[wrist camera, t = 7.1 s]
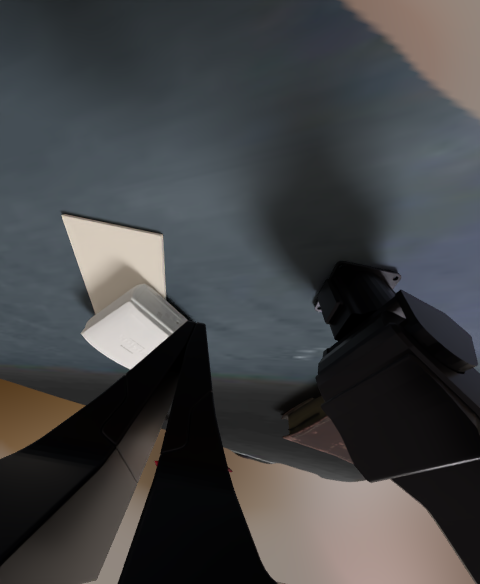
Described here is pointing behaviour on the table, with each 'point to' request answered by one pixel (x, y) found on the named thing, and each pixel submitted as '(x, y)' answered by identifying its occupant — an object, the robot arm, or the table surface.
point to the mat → (115, 258)
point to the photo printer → (133, 325)
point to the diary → (315, 429)
